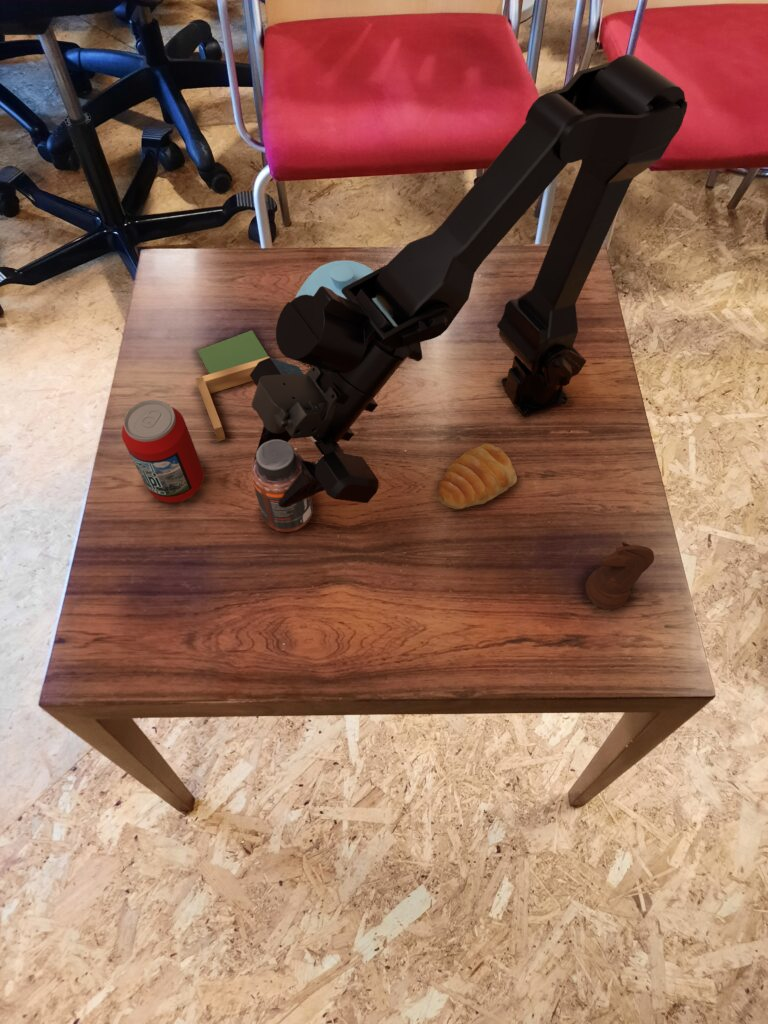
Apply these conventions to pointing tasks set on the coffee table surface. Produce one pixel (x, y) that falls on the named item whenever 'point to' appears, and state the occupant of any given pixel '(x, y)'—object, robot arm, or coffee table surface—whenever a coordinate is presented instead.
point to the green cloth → (232, 352)
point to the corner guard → (222, 382)
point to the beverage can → (162, 450)
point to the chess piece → (618, 575)
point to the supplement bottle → (279, 485)
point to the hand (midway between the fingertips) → (269, 485)
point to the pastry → (476, 477)
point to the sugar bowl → (337, 279)
